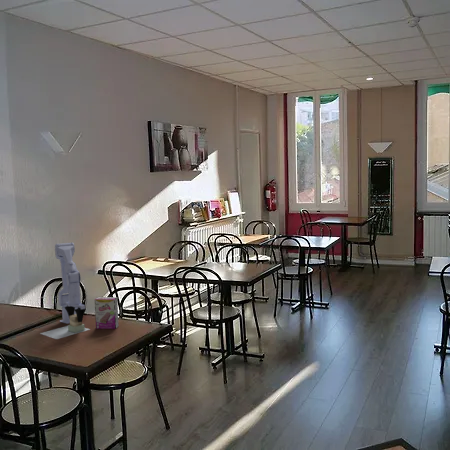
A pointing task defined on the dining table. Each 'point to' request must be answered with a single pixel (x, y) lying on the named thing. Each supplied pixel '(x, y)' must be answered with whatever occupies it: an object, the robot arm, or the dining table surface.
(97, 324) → the candy bar box
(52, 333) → the mat
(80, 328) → the sage base block
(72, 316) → the maple block
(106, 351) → the dining table surface
